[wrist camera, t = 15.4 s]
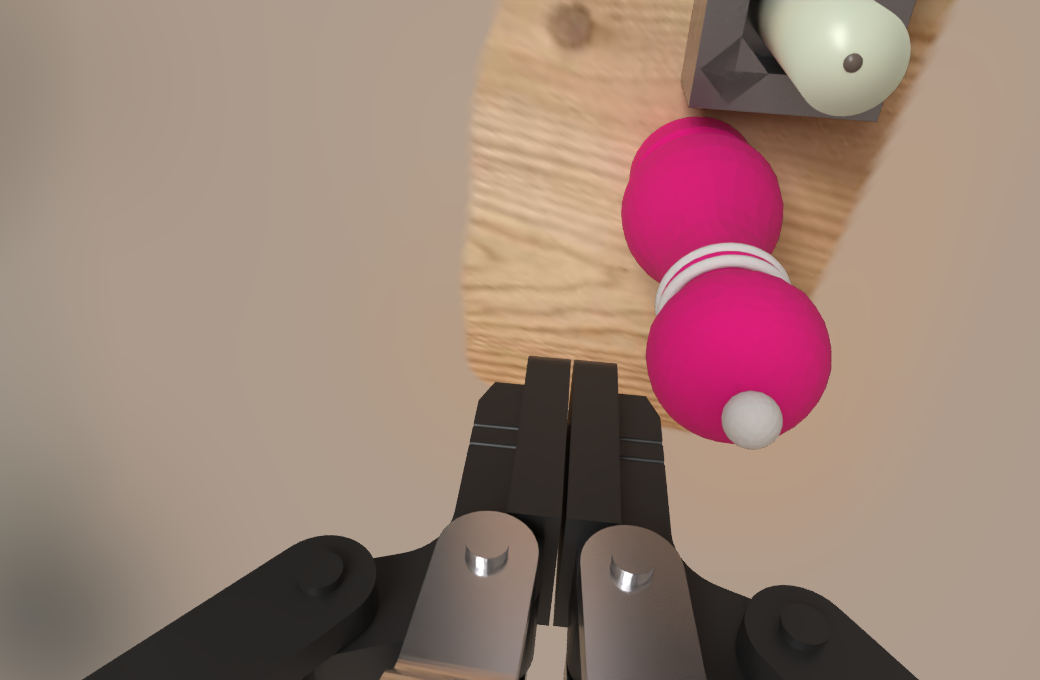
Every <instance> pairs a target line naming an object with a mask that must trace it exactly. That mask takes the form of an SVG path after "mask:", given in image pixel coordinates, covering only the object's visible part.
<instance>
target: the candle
mask: <svg viewBox="0 0 1040 680" xmlns="http://www.w3.org/2000/svg"><path fill="white" fill-rule="evenodd" d="M749 17H750V21H751V24H752V26H753V28H754V29H755V31H756V32H757V34H758V35H759V36H760V38H761V39H762V41H763V42H764V43H765V45H766V46H767V48H768V49H769V50H770V52H771V53H772V54H773V56H774V57H775V59H776V60H777V61H778V63H779V64H780V66H781V67H782V68H783V70H784V71H785V73H786V74H787V75H788V77H789V78H790V79H791V81H792V82H793V84H794V85H795V86H796V88H797V89H798V91H799V92H800V93H801V95H802V96H803V97H804V99H805V100H806V101H807V102H808V104H810V105H811V106H812V107H813V108H815V109H816V110H818V111H820V112H822V113H824V114H828V115H832V116H852V115H856V114H860V113H863V112H865V111H868V110H870V109H872V108H874V107H875V106H877V105H878V104H880V103H881V102H883V101H884V100H885V99H886V98H887V97H888V96H889V95H891V94H892V92H893V91H894V90H895V89H896V88H897V86H898V85H899V83H900V82H901V80H902V78H903V77H904V75H905V73H906V70H907V67H908V64H909V60H910V53H911V44H910V38H909V34H908V31H907V29H906V27H905V25H904V24H903V22H902V21H901V20H900V19H899V18H898V17H897V16H896V15H895V14H894V13H892V12H891V11H889V10H888V9H886V8H885V7H883V6H882V5H880V4H879V3H877V2H876V1H874V0H750V1H749Z"/></svg>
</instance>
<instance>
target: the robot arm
mask: <svg viewBox="0 0 1040 680" xmlns="http://www.w3.org/2000/svg"><path fill="white" fill-rule="evenodd" d="M570 366H571V360H570V359H559V358H549V357H538V356H529V358H528V364H527V371H526V379H525V385H520V384H510V383H499V382H495V383H494V384H493V385H492V386H491V387H490V388H489V390H488V391H487V392H486V393H485V394H484V395H483V396H482V397H481V399H480V400H479V402H478V406H477V411H476V415H475V420H474V427H473V429H472V434H471V438H470V445H469V448H468V452H467V457H466V462H465V466H464V471H463V476H462V481H461V485H460V490H459V494H458V499H457V504H456V508H455V513H454V516H453V519H452V521H451V523H450V524H449V525H448V526H446V527H445V528H444V530H443V531H442V533H441V534H440V536H439V537H438V538H437V539H435V540H434V541H432V542H431V543H430V544H427V545H426V546H424V547H422V548H419V549H416V550H414V551H410V552H406V553H402V554H396V555H390V556H384V557H378V558H373V557H372V555H371V554H370V552H369V551H368V550H367V549H366V548H365V547H364V546H363V545H361V544H360V543H358V542H356V541H354V540H352V539H349V538H346V537H342V536H334V535H325V536H317V537H313V538H309V539H306V540H304V541H301V542H299V543H297V544H295V545H293V546H291V547H290V548H288V549H287V550H285V551H283V552H282V553H280V554H279V555H277V556H275V557H274V558H272V559H271V560H269V561H268V562H266V563H265V564H263V565H261V566H260V567H258V568H257V569H255V570H254V571H252V572H250V573H249V574H247V575H246V576H244V577H243V578H241V579H239V580H238V581H236V582H235V583H233V584H232V585H230V586H229V587H227V588H225V589H224V590H222V591H221V592H219V593H217V594H216V595H214V596H213V597H212V598H210V599H208V600H207V601H205V602H203V603H202V604H200V605H199V606H197V607H195V608H194V609H192V610H191V611H189V612H188V613H186V614H184V615H183V616H181V617H180V618H178V619H177V620H175V621H174V622H172V623H170V624H169V625H167V626H166V627H164V628H163V629H161V630H160V631H158V632H156V633H155V634H153V635H152V636H150V637H149V638H147V639H146V640H144V641H142V642H141V643H139V644H137V645H136V646H134V647H133V648H131V649H130V650H128V651H126V652H125V653H123V654H122V655H120V656H119V657H117V658H115V659H114V660H113V661H111V662H109V663H108V664H106V665H104V666H103V667H102V668H100V669H98V670H97V671H95V672H94V673H92V674H91V675H89V676H87V677H86V678H84V679H83V680H526V678H527V670H528V669H529V667H530V665H531V662H532V660H533V655H534V646H535V637H536V627H537V624H539V625H548V626H549V618H550V610H551V602H552V592H553V585H554V576H555V568H556V559H557V573H556V590H555V605H554V622H553V626H560V627H568V631H567V654H566V661H565V669H564V676H563V680H918V679H917V678H916V677H915V676H914V675H913V674H912V673H911V672H909V671H908V670H907V669H906V668H905V667H904V666H903V665H902V664H900V663H899V662H898V661H897V660H896V659H895V658H894V657H893V656H891V655H890V654H889V653H888V652H887V651H886V650H885V649H884V648H883V647H882V646H880V645H879V644H878V643H877V642H876V641H875V640H874V639H872V638H871V637H870V636H869V635H868V634H867V633H866V632H865V631H864V630H862V629H861V628H860V627H859V626H858V625H857V624H856V623H855V622H854V621H852V620H851V619H850V618H849V617H848V616H847V615H846V614H844V613H843V612H842V611H841V610H840V609H839V608H838V607H837V606H835V605H834V604H833V603H831V602H830V601H829V600H827V599H826V598H824V597H823V596H821V595H819V594H817V593H815V592H813V591H810V590H807V589H804V588H801V587H796V586H789V585H779V586H772V587H768V588H765V589H763V590H761V591H760V592H758V593H757V594H755V595H754V596H753V597H752V599H750V598H747V597H745V596H742V595H740V594H737V593H734V592H732V591H729V590H727V589H724V588H722V587H719V586H717V585H715V584H712V583H710V582H708V581H707V580H705V579H703V578H702V577H700V576H699V575H698V574H696V573H695V572H694V571H692V570H691V569H690V568H689V567H688V566H687V565H686V564H685V562H684V561H683V560H682V559H681V558H680V555H679V554H678V552H677V551H676V549H675V546H674V544H673V540H672V535H671V526H670V515H669V506H668V495H667V484H666V475H665V465H664V452H663V446H662V431H661V421H660V417H659V415H658V414H657V412H656V411H655V409H654V408H653V406H652V405H651V403H650V402H649V400H648V399H647V397H646V396H637V395H627V394H618V373H617V364H615V363H604V362H593V361H583V360H574V366H573V374H572V383H571V392H570V401H569V410H568V399H569V383H570ZM567 416H568V419H567ZM557 551H558V558H557Z"/></svg>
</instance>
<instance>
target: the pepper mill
mask: <svg viewBox="0 0 1040 680" xmlns="http://www.w3.org/2000/svg"><path fill="white" fill-rule="evenodd" d="M621 217H622V226H623V230H624V235H625V239H626V241H627V244H628V247H629V250H630V252H631V253H632V255H633V256H634V258H635V260H636V261H637V262H638V264H639V265H640V266H641V267H642V269H643V270H644V271H645V272H646V273H647V274H648V275H649V276H651V277H652V278H653V279H654V280H656V281H657V282H659V283H660V285H659V287H658V290H657V294H656V299H655V312H656V318H655V320H654V322H653V324H652V325H651V328H650V332H649V336H648V341H647V347H646V362H647V369H648V375H649V378H650V382H651V385H652V388H653V391H654V393H655V395H656V397H657V399H658V401H659V402H660V404H661V405H662V406H663V408H664V409H665V410H666V412H667V413H668V414H669V415H670V416H671V417H672V418H673V419H674V420H675V421H676V422H677V423H679V424H680V425H681V426H683V427H684V428H686V429H687V430H689V431H691V432H692V433H694V434H697V435H699V436H701V437H703V438H706V439H710V440H714V441H717V442H723V443H731V444H736V445H738V446H740V447H742V448H746V449H761V448H764V447H767V446H768V445H770V444H771V443H772V442H774V441H775V440H776V438H777V437H778V436H779V435H781V434H783V433H785V432H786V431H788V430H790V429H791V428H793V427H795V426H796V425H797V424H798V423H799V422H801V421H802V420H803V419H804V418H805V417H806V416H808V414H809V413H810V412H811V410H812V409H813V408H814V407H815V406H816V404H817V403H818V402H819V400H820V398H821V396H822V394H823V392H824V390H825V388H826V386H827V383H828V379H829V376H830V372H831V345H830V339H829V335H828V331H827V328H826V325H825V322H824V320H823V318H822V317H821V315H820V313H819V312H818V310H817V308H816V306H815V305H814V304H813V303H812V302H811V300H810V299H809V298H808V297H807V295H806V294H805V293H804V292H802V291H801V290H799V289H797V288H796V287H794V286H793V285H791V282H790V279H789V276H788V274H787V273H786V271H785V269H784V268H783V267H782V266H781V264H780V263H779V262H778V261H777V260H776V259H775V258H774V257H773V256H771V253H772V252H773V250H774V248H775V246H776V243H777V241H778V239H779V235H780V231H781V226H782V220H783V201H782V196H781V192H780V188H779V185H778V181H777V177H776V175H775V173H774V171H773V170H772V168H771V166H770V164H769V163H768V162H767V161H766V160H765V158H764V157H763V156H762V155H761V154H760V153H759V152H757V151H756V150H755V149H754V148H752V147H751V146H750V145H748V143H747V141H746V140H745V138H744V137H743V136H742V135H741V134H740V133H739V132H738V131H737V130H736V129H734V128H733V127H731V126H730V125H729V124H727V123H724V122H722V121H720V120H717V119H714V118H708V117H687V118H683V119H678V120H675V121H672V122H670V123H668V124H666V125H664V126H662V127H661V128H659V129H657V130H656V131H655V132H654V133H652V134H651V135H650V136H649V137H648V138H647V139H646V140H645V141H644V143H643V144H642V146H641V147H640V148H639V150H638V151H637V153H636V155H635V158H634V160H633V162H632V166H631V170H630V180H629V183H628V185H627V187H626V189H625V193H624V197H623V201H622V211H621Z"/></svg>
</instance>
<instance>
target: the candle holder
mask: <svg viewBox="0 0 1040 680" xmlns="http://www.w3.org/2000/svg"><path fill="white" fill-rule="evenodd" d="M749 1H750V0H694V5H693V11H692V17H691V23H690V29H689V35H688V41H687V47H686V53H685V59H684V65H683V71H682V77H681V84H682V87H683V90H684V94H685V97H686V101H687V104H688V107H691V108H704V109H717V110H729V111H742V112H755V113H768V114H781V115H794V116H807V117H820V118H833V119H845V120H858V121H871V122H877V120H878V117H879V114H880V111H881V108H882V104H883V102H881V103H880V104H878V105H877V106H875V107H874V108H872V109H870V110H868V111H865V112H863V113H860V114H856V115H852V116H832V115H828V114H824V113H822V112H820V111H818V110H816V109H815V108H813V107H812V106H811V105H810V104H808V102H807V101H806V100H805V99H804V97H803V96H802V95H801V93H800V92H799V91H798V89H797V88H796V86H795V85H794V84H793V82H792V81H791V79H790V78H789V77H788V75H787V74H786V73H785V71H784V70H783V68H782V67H781V66H780V64H779V63H778V61H777V60H776V59H775V57H774V56H773V54H772V53H771V52H770V50H769V49H768V48H767V46H766V45H765V43H764V42H763V41H762V39H761V38H760V36H759V35H758V34H757V32H756V31H755V29H754V28H753V26H752V24H751V21H750V17H749ZM874 1H876V2H877V3H879V4H880V5H882V6H883V7H885V8H886V9H888V10H889V11H891V12H892V13H894V14H895V15H896V16H897V17H898V18H899V19H900V20H901V21H902V22H903V24H904V25H905V27H906V29H907V27H908V24H909V21H910V17H911V14H912V11H913V8H914V5H915V2H916V0H874Z"/></svg>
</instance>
